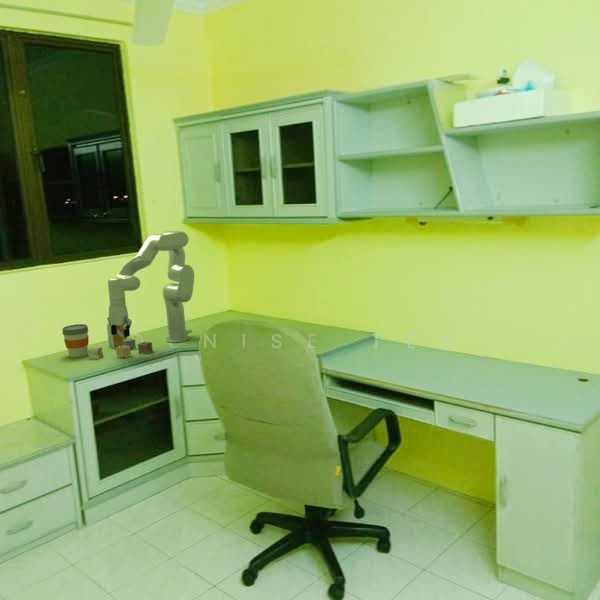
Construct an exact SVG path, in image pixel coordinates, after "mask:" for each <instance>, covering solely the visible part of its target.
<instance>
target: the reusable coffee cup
mask: <svg viewBox="0 0 600 600" xmlns="http://www.w3.org/2000/svg"><path fill="white" fill-rule="evenodd" d="M88 332H89V328H88V324H86V323H83V324H82V323H78V324H71V325H66V326H64V327H62V335H63V341H64V344H65V348H66V349H67V352H68V356H69V358H80V356H82V357H85V356H87V355H89V354H88V349H89V348H88V346H89V342H90V341H89V340H90V339H89V338H90V337H89V335H88Z"/></svg>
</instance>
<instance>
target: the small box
mask: <svg viewBox="0 0 600 600" xmlns="http://www.w3.org/2000/svg"><path fill="white" fill-rule="evenodd" d="M116 326H117V334H115V335H111V327H110V325H109V322H108V323H106V330H107V339H108V346H110V348H112V347H113V348H112V349H116V347H119V346H123V345H122V340H124V339H128V337H124V327H123V326H118V325H116ZM125 326H126V325H125Z"/></svg>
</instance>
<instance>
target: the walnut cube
mask: <svg viewBox="0 0 600 600" xmlns="http://www.w3.org/2000/svg"><path fill="white" fill-rule="evenodd" d="M137 348H138V354H140V353H145V354H144V355H147V353H148V354H150V353H152V352H153V342H152V341H143V342H140V343H138V344H137ZM151 351H152V352H151ZM149 352H150V353H149Z"/></svg>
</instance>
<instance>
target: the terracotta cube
mask: <svg viewBox="0 0 600 600" xmlns="http://www.w3.org/2000/svg"><path fill="white" fill-rule="evenodd" d="M131 350H132V349H130V346H125V345H123V346H120V347H117V348H115V352H116V353H115V354H116V357H117V356H119V357H126V356H129V355H131V356H132V353H131ZM119 357H118V358H119ZM129 357H130V356H129ZM126 358H127V357H126Z"/></svg>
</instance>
